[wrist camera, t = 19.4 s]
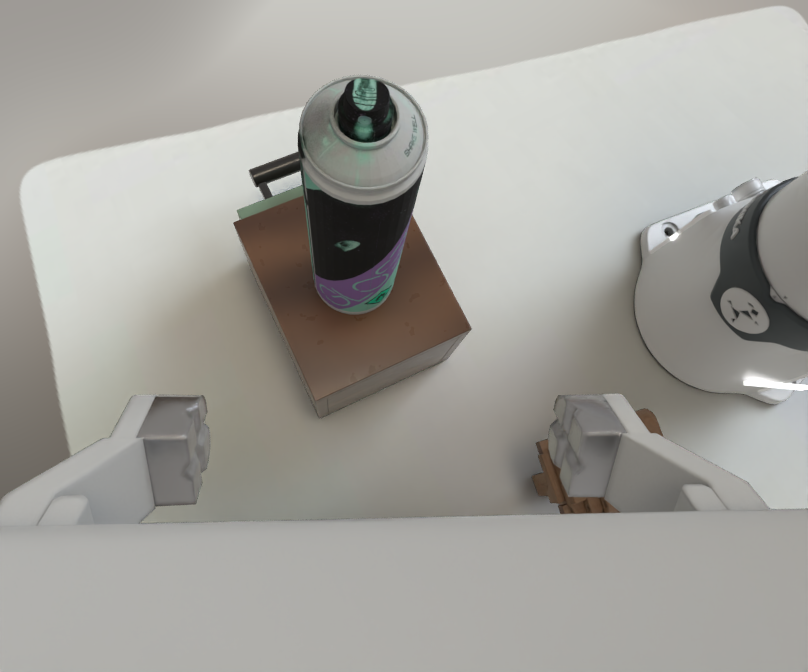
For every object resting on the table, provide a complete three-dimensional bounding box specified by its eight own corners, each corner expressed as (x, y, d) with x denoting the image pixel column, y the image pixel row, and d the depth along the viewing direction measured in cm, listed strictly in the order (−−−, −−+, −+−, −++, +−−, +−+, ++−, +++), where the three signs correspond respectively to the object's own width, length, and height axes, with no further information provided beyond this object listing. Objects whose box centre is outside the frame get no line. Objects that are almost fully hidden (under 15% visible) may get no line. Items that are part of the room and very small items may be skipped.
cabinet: (251, 270, 51) (232, 222, 42) (377, 219, 54) (385, 163, 44) (319, 418, 49) (315, 401, 40) (447, 358, 51) (472, 328, 42)
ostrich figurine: (501, 447, 50) (588, 423, 33) (575, 423, 51) (698, 387, 34) (575, 665, 46) (717, 767, 29) (654, 634, 48) (835, 714, 30)
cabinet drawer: (231, 209, 52) (213, 161, 44) (345, 166, 54) (346, 113, 46) (313, 387, 49) (309, 368, 41) (430, 334, 51) (446, 306, 43)
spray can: (336, 328, 41) (334, 183, 22) (299, 259, 42) (266, 60, 23) (408, 293, 42) (466, 126, 23) (370, 226, 43) (397, 11, 24)
